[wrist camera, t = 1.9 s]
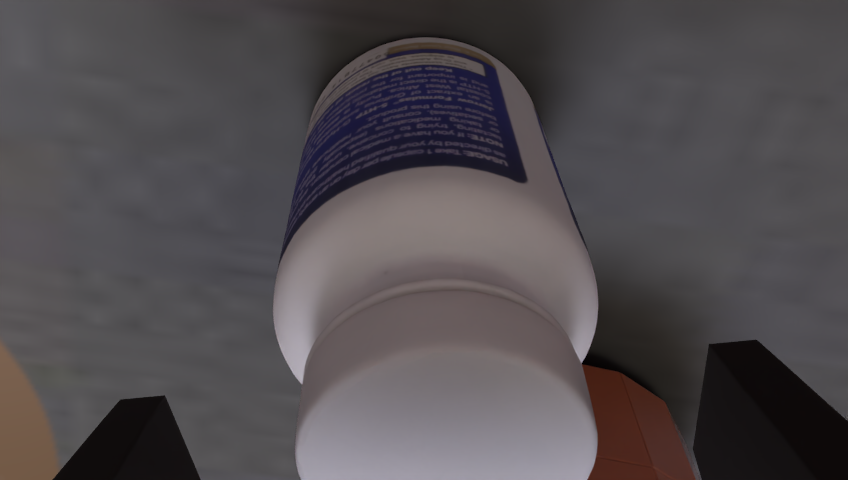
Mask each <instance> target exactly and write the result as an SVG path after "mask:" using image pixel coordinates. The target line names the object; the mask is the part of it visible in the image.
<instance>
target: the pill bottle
mask: <svg viewBox="0 0 848 480" xmlns="http://www.w3.org/2000/svg"><path fill="white" fill-rule="evenodd" d="M597 317H598V291H597V283H596V278H595V274H594V270H593V267H592V263H591V260H590V256H589V253H588V250H587V247H586V244H585V241H584V238H583V236H582V234H581V231H580V229H579V226H578V223H577V221H576V218H575V215H574V213H573V210H572V208H571V205H570V203H569V200H568V198H567V195H566V193H565V190H564V187H563V184H562V182H561V179H560V176H559V173H558V170H557V168H556V165H555V162H554V159H553V156H552V153H551V151H550V148H549V145H548V142H547V139H546V136H545V133H544V130H543V127H542V124H541V121H540V118H539V116H538V113H537V111H536V109H535V106H534V104H533V102H532V100H531V98H530V96H529V95H528V93H527V91H526V89H525V88H524V86H523V85H522V84H521V82H520V81H519V80H518V79H517V77H516V76H515V75H514V74H513V73H512V72H511V71H510V70H509V69H508V68H507V67H506V66H505V65H504V64H503V63H501V62H500V61H499V60H497V59H496V58H494V57H493V56H491V55H490V54H488V53H486V52H484V51H482V50H480V49H479V48H476V47H474V46H471V45H468V44H465V43H462V42H458V41H454V40H449V39H442V38H431V37H421V38H409V39H402V40H398V41H394V42H390V43H387V44H384V45H381V46H378V47H376V48H374V49H372V50H370V51H368V52H366V53H364V54H363V55H361V56H359V57H358V58H356V59H355V60H353V61H352V62H350V63H349V64H348V65H346V66H345V67H344V68H343V69H342V70H341V71H340V72H339V73H338V74H337V75H336V76H335V77H334V78H333V79H332V80H331V81H330V83H329V84H328V85H327V87H326V88H325V89H324V91H323V92H322V94H321V96H320V98H319V99H318V101H317V103H316V105H315V108H314V110H313V113H312V116H311V119H310V123H309V126H308V130H307V135H306V140H305V144H304V149H303V153H302V158H301V162H300V167H299V172H298V176H297V181H296V186H295V191H294V195H293V200H292V205H291V210H290V215H289V219H288V224H287V229H286V233H285V238H284V242H283V247H282V252H281V256H280V261H279V266H278V271H277V277H276V282H275V289H274V300H273V319H274V327H275V332H276V337H277V340H278V343H279V346H280V349H281V351H282V353H283V356H284V358H285V360H286V362H287V364H288V365H289V367H290V369H291V371H292V372H293V374H294V376H295V377H296V378H297V379H298V380H299V382H300V383H301V384H302V390H301V398H300V405H299V411H298V420H297V428H296V436H295V461H296V465H297V470H298V474H299V476H300V478H301V480H587V479H588V477H589V475H590V473H591V471H592V469H593V466H594V463H595V459H596V454H597V446H598V433H597V427H596V422H595V417H594V412H593V408H592V404H591V399H590V395H589V391H588V387H587V383H586V379H585V375H584V371H583V367H582V362H583V360H584V359H585V357H586V355H587V353H588V350H589V348H590V346H591V343H592V340H593V337H594V334H595V329H596V324H597Z"/></svg>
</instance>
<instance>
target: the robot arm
mask: <svg viewBox="0 0 848 480" xmlns="http://www.w3.org/2000/svg"><path fill="white" fill-rule="evenodd" d="M693 451H694V454H695V458H696V461H697V464H698V468H699V471H700V475H701V478H702V480H848V421H847V420H846V419H845V418H844V417H842V416H841V415H840V414H839V413H838V412H837V411H836V410H835V409H833V408H832V407H831V406H830V405H829V404H828V403H827V402H826V401H824V400H823V399H822V398H821V397H820V396H819V395H818V394H817V393H815V392H814V391H813V390H812V389H811V388H810V387H809V386H808V385H807V384H805V383H804V382H803V381H802V380H801V379H800V378H799V377H798V376H797V375H796V374H794V373H793V372H792V371H791V370H790V369H789V368H788V367H787V366H786V365H784V364H783V363H782V362H781V361H780V360H779V359H778V358H777V357H776V356H774V355H773V354H772V353H771V352H770V351H769V350H768V349H766V348H765V347H764V346H763V345H762V344H761V343H760V342H758V341H757V340H749V341H738V342H728V343H717V344H709V348H708V354H707V361H706V367H705V374H704V380H703V387H702V393H701V400H700V407H699V413H698V420H697V426H696V433H695V439H694V446H693ZM53 480H200V477H199V475H198V473H197V470H196V468H195V465H194V463H193V461H192V458H191V456H190V454H189V451H188V449H187V447H186V444H185V442H184V439H183V437H182V435H181V432H180V430H179V428H178V425H177V423H176V421H175V418H174V416H173V413H172V411H171V409H170V406H169V404H168V402H167V399H166V397H165V396H155V397H144V398H133V399H123V400H120V401H119V402H118V403H117V404H116V405H115V406H114V408H113V409H112V410H111V411H110V412H109V413H108V415H107V416H106V417H105V418H104V419H103V420H102V422H101V423H100V424H99V425H98V426H97V428H96V429H95V430H94V431H93V432H92V433H91V435H90V436H89V437H88V438H87V439H86V441H85V442H84V443H83V444H82V445H81V447H80V448H79V449H78V450H77V451H76V453H75V454H74V455H73V456H72V457H71V459H70V460H69V461H68V462H67V463H66V465H65V466H64V467H63V468H62V469H61V470H60V472H59V473H58V474H57V475H56V476H55V478H54V479H53Z"/></svg>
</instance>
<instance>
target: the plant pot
mask: <svg viewBox="0 0 848 480" xmlns="http://www.w3.org/2000/svg"><path fill="white" fill-rule="evenodd" d="M582 367H583V371H584V375H585V379H586V383H587V387H588V391H589V395H590V399H591V404H592V408H593V412H594V417H595V422H596V427H597V433H598V446H597V454H596V459H595V463H594V466H593V469H592V471H591V473H590V475H589V477H588V479H587V480H700V478H699V475H698V473H697V470H696V468H695V465H694V463H693V460H692V458H691V455H690V453H689V450H688V448H687V446H686V443H685V441H684V438H683V436H682V434H681V432H680V430H679V428H678V426H677V424H676V422H675V421H674V419H673V417H672V415H671V413H670V411H669V409H668V407H667V405H666V403H665V402H664V401H663V400H662V399H660V398H659V397H657V396H656V395H654V394H653V393H651V392H650V391H648V390H646V389H645V388H643V387H642V386H640V385H639V384H637V383H636V382H634V381H633V380H631V379H630V378H628V377H627V376H625V375H624V374H622V373H619V372H617V371H613V370H608V369H603V368H598V367H593V366H589V365H584V364H582Z"/></svg>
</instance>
